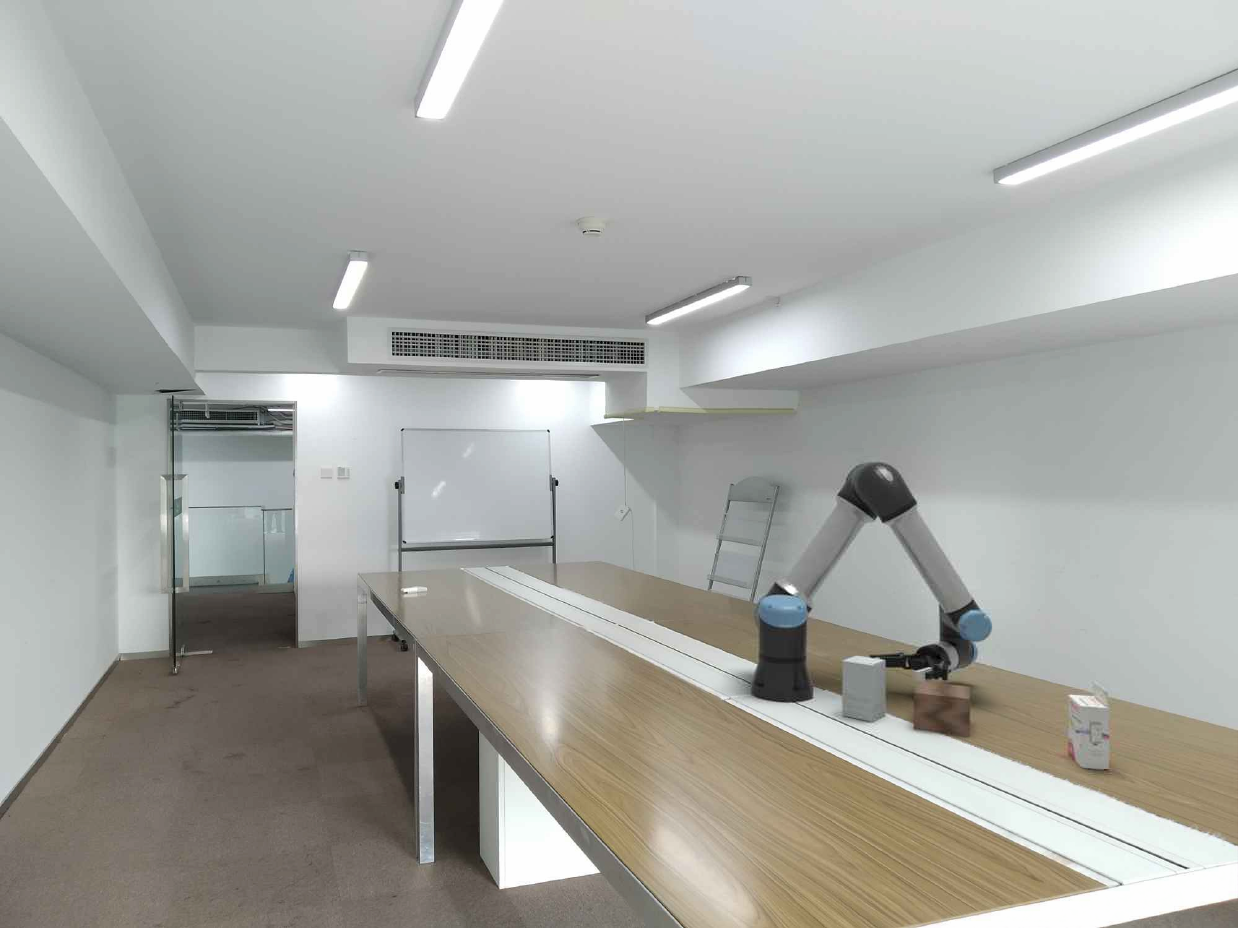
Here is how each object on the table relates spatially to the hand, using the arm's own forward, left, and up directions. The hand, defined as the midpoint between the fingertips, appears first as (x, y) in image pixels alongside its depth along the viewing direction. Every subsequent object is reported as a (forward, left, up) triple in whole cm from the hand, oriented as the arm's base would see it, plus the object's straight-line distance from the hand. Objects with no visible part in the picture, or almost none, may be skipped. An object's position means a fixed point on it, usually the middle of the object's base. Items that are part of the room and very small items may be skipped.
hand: (889, 672), depth 196 cm
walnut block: (+11, -10, -8) cm, 17 cm away
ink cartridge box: (+37, -25, -9) cm, 45 cm away
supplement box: (-5, -9, -9) cm, 13 cm away
